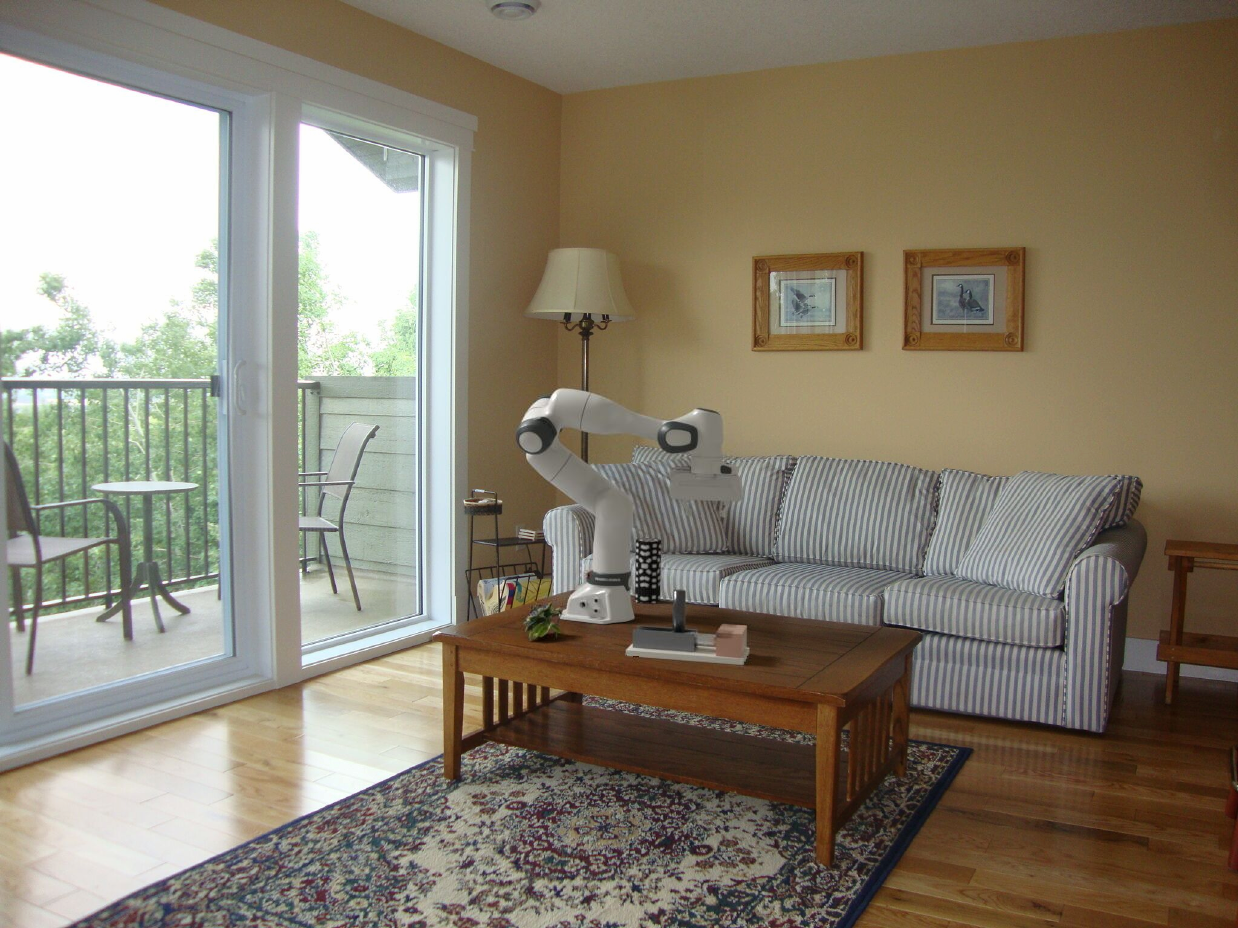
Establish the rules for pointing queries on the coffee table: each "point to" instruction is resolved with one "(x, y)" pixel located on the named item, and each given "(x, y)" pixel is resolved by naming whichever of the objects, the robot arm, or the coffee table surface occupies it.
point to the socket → (731, 640)
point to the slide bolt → (679, 620)
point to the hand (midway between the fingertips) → (705, 516)
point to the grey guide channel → (664, 638)
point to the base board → (687, 655)
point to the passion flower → (542, 620)
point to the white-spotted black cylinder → (648, 570)
